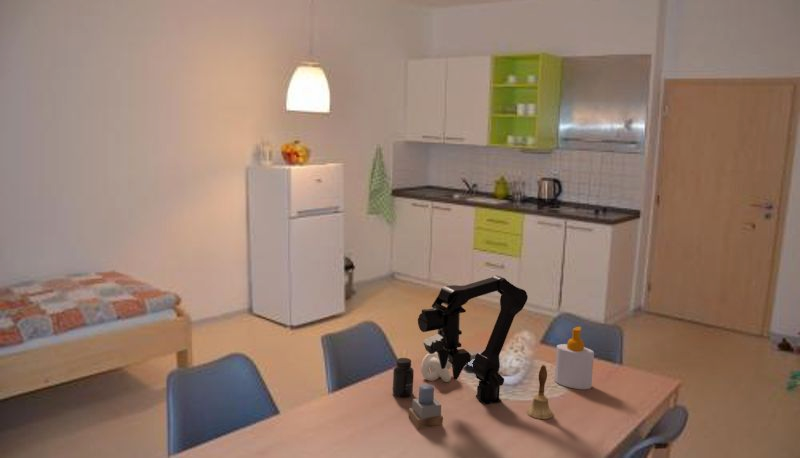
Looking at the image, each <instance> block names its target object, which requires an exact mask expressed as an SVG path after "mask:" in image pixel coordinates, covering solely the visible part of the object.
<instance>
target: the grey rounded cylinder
mask: <svg viewBox="0 0 800 458" xmlns="http://www.w3.org/2000/svg"><path fill="white" fill-rule="evenodd" d="M434 394H435V387H434V386H433V385H431V384H420V385H419V387H418V398H419V403H421V404H424V405H430V404H432V403H433V399H435V397H434V396H435V395H434Z"/></svg>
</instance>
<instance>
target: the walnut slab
mask: <svg viewBox="0 0 800 458" xmlns="http://www.w3.org/2000/svg"><path fill="white" fill-rule="evenodd" d="M412 408H413V407H409V408H408V417H409V418H408V419H409V420H410V421H411V422H412V424H413V425H414V426H415V428H416V429H417V430H422V429H430V428H436V427H442V426H443V424H444V423H443V419H444V418H443V417H444V416H443V415H442V414H441V416H436V417H430V418H425V419H421V418H420V417H419V416H418V415H417V414H416V413H415V412H414V411H413V410H412Z"/></svg>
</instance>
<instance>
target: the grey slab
mask: <svg viewBox="0 0 800 458" xmlns="http://www.w3.org/2000/svg"><path fill="white" fill-rule="evenodd" d="M411 408H412V410H413V411H414V412H415V413H416V414H417V415H418V416H419V417H420V418H421V419H425V418H430V417H436V416H441V415H442V404H441V403H440V402H439V401H438V400H437V399H436V398H434V399H433V403H432V404H430V405H424V404H421V403H419V397H418V398H412V407H411Z"/></svg>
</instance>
